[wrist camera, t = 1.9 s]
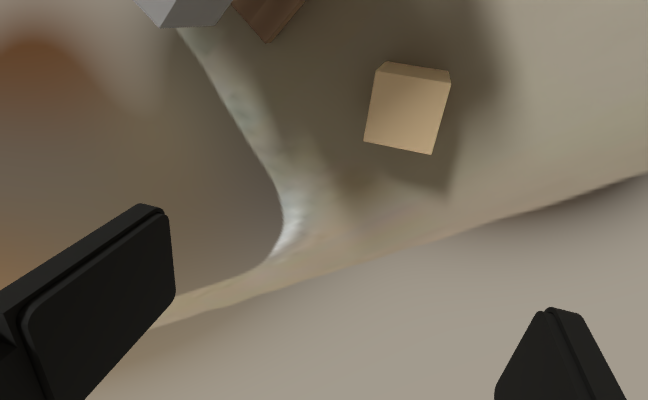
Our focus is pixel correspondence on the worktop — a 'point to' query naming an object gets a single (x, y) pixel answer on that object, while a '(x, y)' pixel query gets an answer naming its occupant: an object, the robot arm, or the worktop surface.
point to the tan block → (407, 106)
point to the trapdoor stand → (267, 15)
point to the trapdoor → (184, 12)
